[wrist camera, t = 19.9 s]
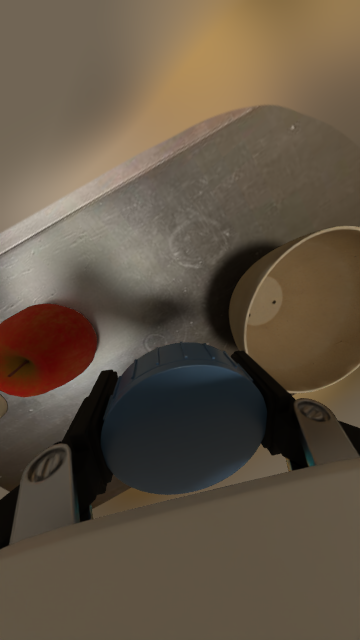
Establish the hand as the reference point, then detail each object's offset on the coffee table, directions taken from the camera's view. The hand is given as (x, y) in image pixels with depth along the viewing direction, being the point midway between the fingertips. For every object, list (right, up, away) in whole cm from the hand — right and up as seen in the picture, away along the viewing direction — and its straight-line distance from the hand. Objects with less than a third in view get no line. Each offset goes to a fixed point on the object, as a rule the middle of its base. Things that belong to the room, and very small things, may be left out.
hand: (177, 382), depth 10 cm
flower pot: (+14, +7, +19) cm, 25 cm away
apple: (-17, +2, +16) cm, 24 cm away
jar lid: (0, -1, -3) cm, 3 cm away
